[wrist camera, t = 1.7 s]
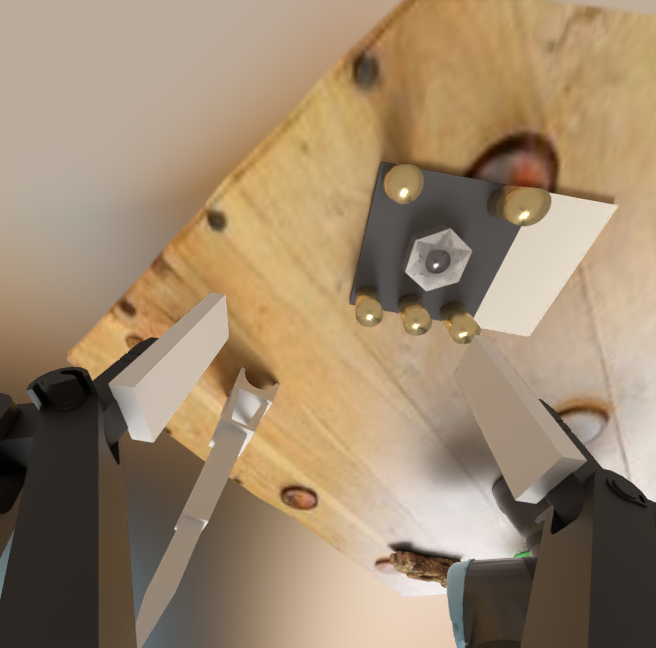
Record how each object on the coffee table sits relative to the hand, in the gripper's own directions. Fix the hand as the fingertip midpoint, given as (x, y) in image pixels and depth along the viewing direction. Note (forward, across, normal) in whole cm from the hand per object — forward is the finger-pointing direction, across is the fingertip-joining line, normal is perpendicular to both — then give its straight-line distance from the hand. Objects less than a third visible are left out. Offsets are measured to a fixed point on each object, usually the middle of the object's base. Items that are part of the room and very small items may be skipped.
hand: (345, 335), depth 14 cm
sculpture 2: (+19, -36, +81) cm, 91 cm away
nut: (+19, -10, 0) cm, 21 cm away
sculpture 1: (+20, +12, +27) cm, 36 cm away
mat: (+19, -14, 0) cm, 24 cm away
